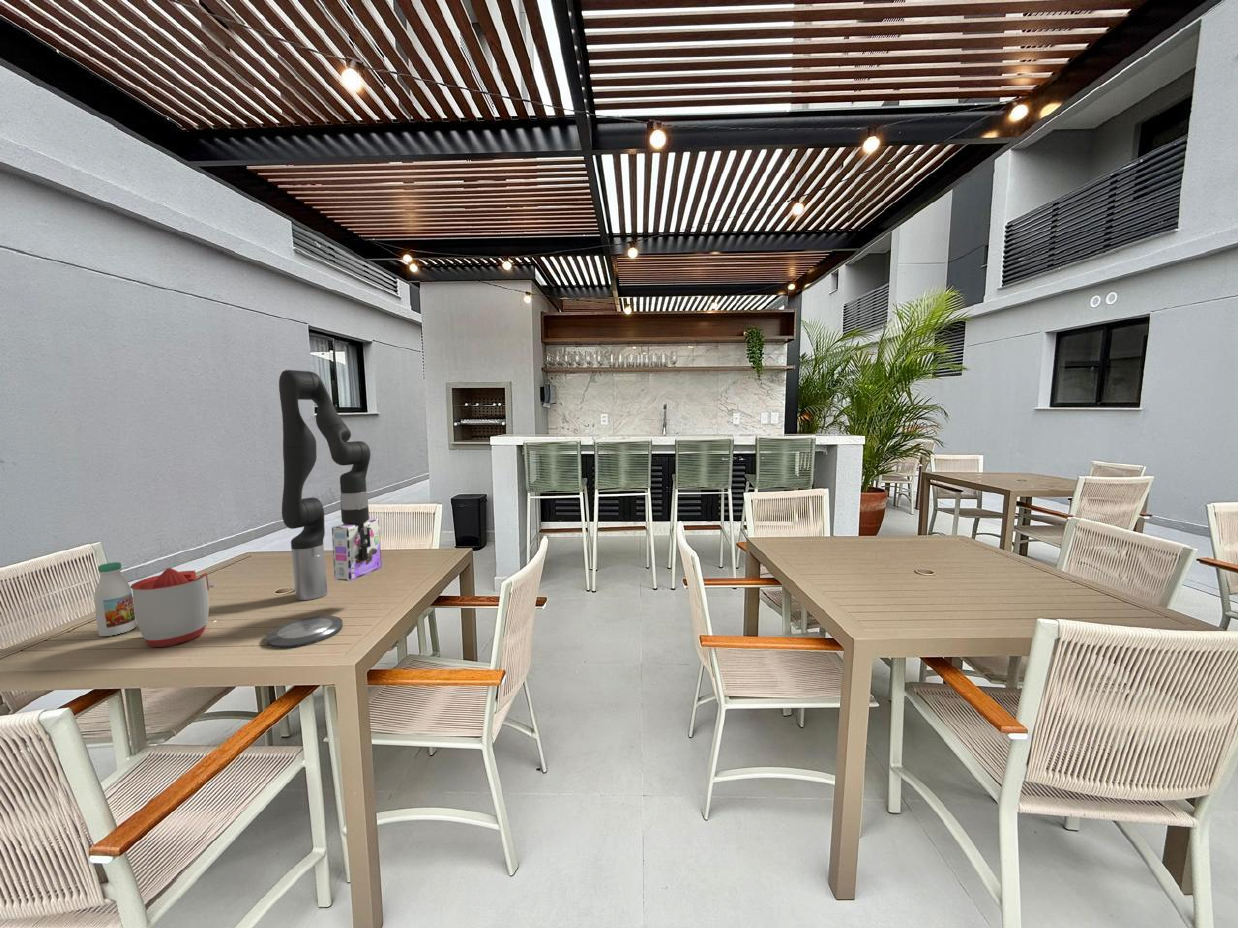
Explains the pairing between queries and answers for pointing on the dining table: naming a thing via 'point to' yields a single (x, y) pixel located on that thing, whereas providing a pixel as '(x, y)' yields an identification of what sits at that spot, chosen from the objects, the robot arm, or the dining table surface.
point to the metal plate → (304, 631)
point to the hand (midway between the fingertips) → (358, 557)
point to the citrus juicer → (171, 607)
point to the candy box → (355, 551)
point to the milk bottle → (113, 601)
